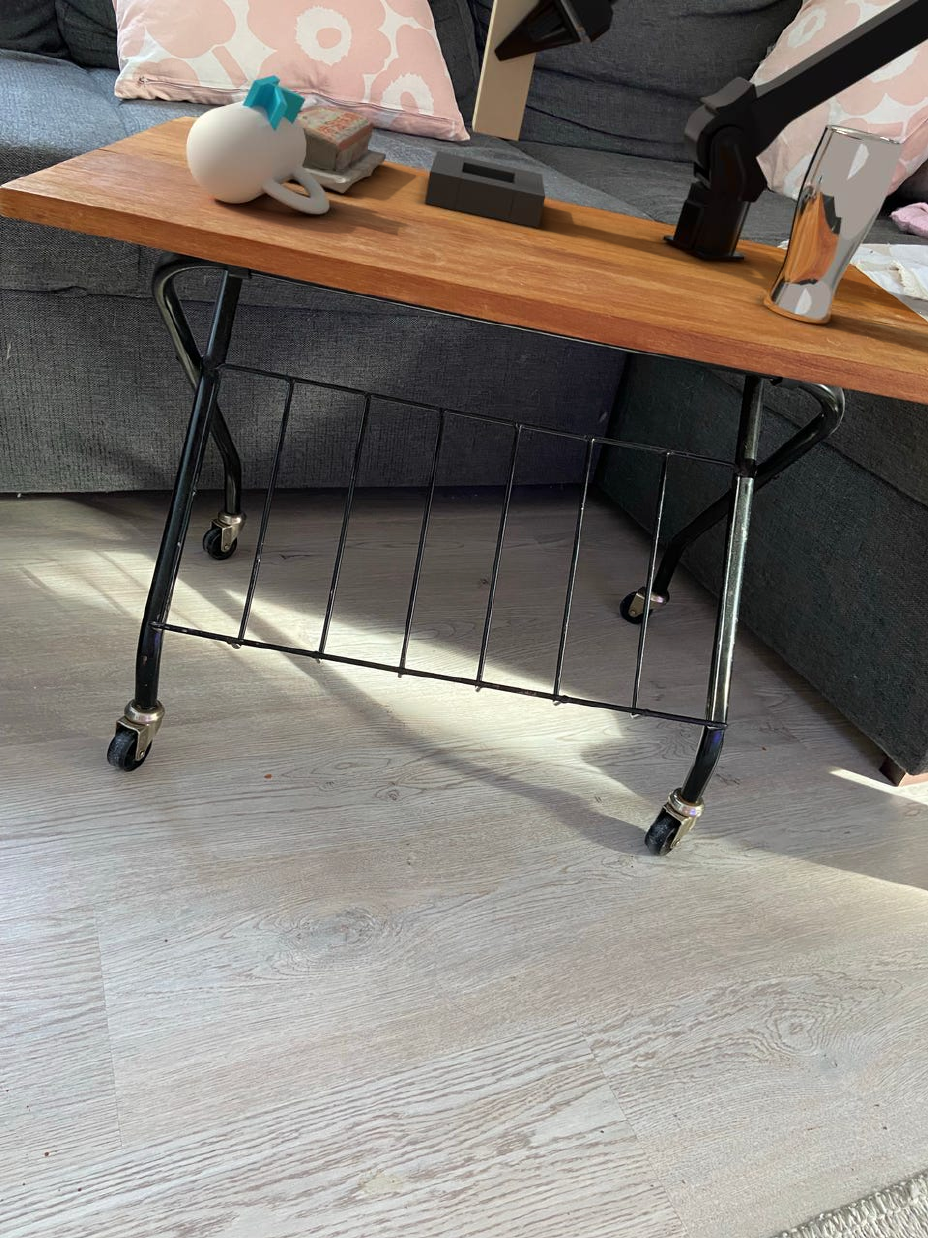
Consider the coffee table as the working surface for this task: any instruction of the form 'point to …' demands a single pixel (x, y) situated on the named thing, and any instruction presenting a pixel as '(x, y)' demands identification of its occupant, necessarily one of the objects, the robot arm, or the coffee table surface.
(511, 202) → the pad base
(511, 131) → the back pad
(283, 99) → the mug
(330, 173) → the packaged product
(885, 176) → the beer glass
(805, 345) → the coffee table surface
